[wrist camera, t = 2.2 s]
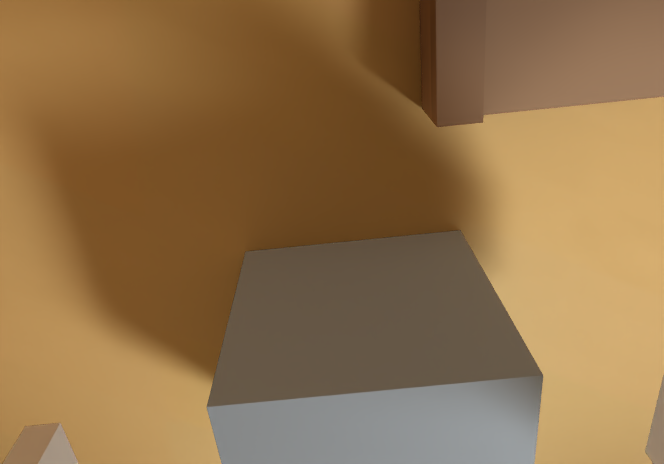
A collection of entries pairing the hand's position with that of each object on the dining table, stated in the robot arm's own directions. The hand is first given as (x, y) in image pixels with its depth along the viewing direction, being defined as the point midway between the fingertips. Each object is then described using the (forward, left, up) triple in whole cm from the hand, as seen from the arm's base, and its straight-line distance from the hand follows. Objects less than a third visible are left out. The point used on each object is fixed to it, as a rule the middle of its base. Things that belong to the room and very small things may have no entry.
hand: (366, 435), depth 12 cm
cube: (0, 0, -5) cm, 5 cm away
